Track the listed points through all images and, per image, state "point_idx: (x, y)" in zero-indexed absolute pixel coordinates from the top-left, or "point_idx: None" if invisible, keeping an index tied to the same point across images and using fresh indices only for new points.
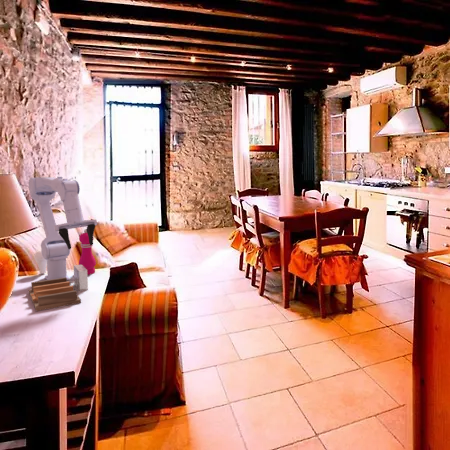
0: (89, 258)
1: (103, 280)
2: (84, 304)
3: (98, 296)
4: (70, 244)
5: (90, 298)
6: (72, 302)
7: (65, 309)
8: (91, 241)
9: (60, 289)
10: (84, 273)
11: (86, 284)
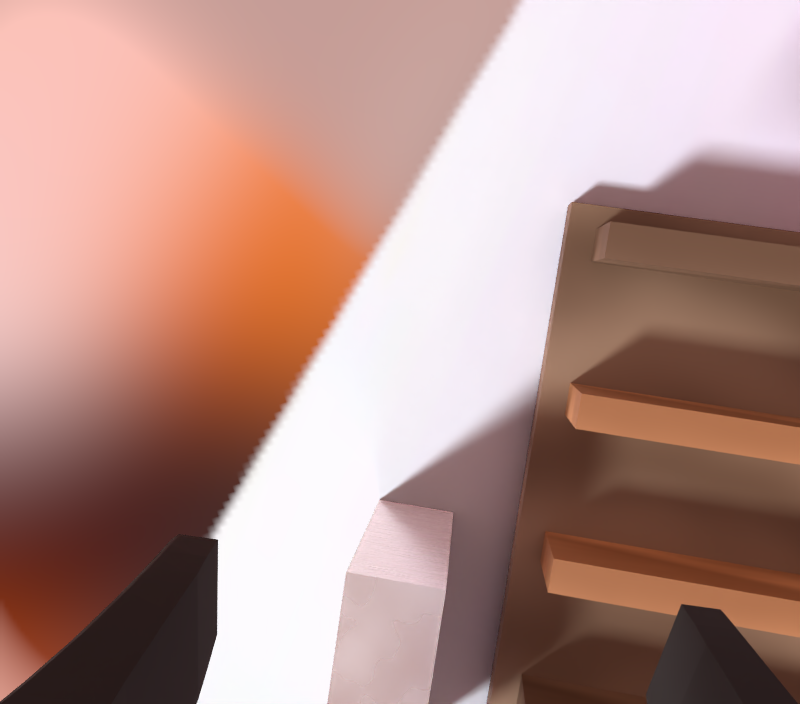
0: None
1: None
2: (559, 146)
3: (378, 260)
4: (723, 655)
5: (456, 257)
6: (646, 212)
7: (737, 136)
8: (180, 572)
9: (709, 413)
10: (385, 564)
11: (384, 517)
